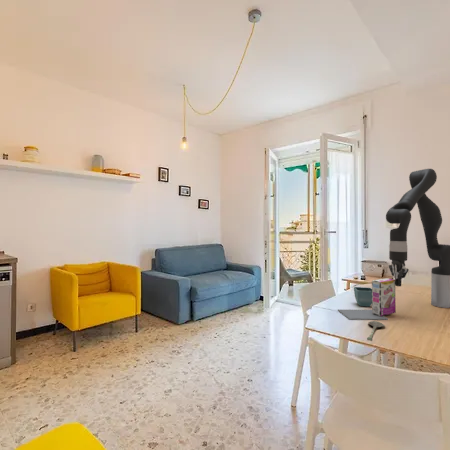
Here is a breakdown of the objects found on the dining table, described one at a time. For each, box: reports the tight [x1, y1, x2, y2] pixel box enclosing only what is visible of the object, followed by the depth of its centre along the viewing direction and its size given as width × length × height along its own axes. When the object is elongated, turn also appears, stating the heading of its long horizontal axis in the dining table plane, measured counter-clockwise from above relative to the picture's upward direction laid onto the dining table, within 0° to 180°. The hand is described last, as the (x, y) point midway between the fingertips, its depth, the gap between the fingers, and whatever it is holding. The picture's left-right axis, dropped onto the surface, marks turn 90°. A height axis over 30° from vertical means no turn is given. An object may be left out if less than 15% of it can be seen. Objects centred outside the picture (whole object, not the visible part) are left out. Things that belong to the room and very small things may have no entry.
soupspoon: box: [366, 320, 386, 341], centre depth 121 cm, size 22×3×7 cm
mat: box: [337, 309, 389, 321], centre depth 142 cm, size 18×14×1 cm
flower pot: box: [353, 286, 372, 307], centre depth 159 cm, size 9×9×9 cm
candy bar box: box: [371, 277, 397, 317], centre depth 142 cm, size 11×5×16 cm, turn 115°
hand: (398, 286), depth 142 cm, fingers closed
